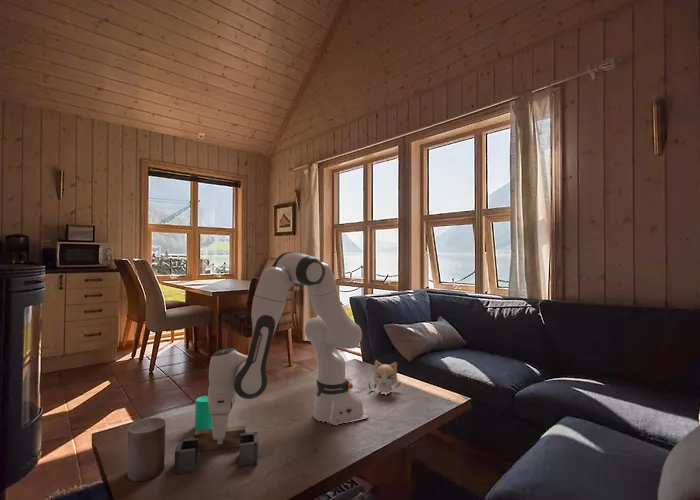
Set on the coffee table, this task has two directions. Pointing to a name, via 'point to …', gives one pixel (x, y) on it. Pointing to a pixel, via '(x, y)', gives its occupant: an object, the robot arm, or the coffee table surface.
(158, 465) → the pillar candle
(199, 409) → the candle
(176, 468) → the endcap
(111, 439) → the coffee table surface
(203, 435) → the slat
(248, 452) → the endcap
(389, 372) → the kitten
